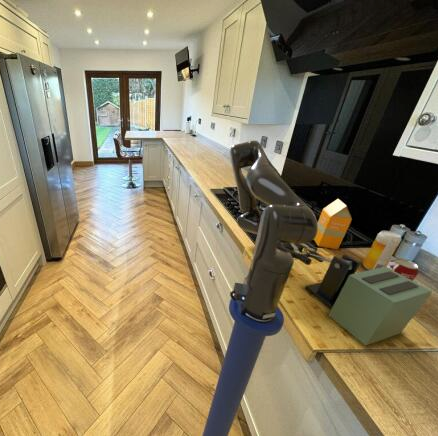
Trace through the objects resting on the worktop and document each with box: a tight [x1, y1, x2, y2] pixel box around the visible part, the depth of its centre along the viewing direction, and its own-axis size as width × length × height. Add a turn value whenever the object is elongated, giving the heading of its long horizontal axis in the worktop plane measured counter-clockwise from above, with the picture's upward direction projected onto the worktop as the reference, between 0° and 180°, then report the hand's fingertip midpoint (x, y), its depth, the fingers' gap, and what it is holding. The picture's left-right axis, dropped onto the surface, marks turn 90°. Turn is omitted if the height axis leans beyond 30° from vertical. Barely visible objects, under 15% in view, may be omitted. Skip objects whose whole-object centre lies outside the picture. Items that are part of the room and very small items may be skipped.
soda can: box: [386, 257, 419, 281], centre depth 76 cm, size 7×7×12 cm
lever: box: [304, 252, 352, 270], centre depth 74 cm, size 13×5×2 cm, turn 18°
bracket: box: [305, 253, 362, 310], centre depth 72 cm, size 10×8×15 cm
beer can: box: [362, 230, 402, 271], centre depth 87 cm, size 6×6×15 cm
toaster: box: [328, 267, 433, 347], centre depth 63 cm, size 10×14×15 cm
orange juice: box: [313, 198, 353, 250], centre depth 102 cm, size 8×9×20 cm
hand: (316, 261), depth 78 cm, fingers closed on lever, 5 cm apart
